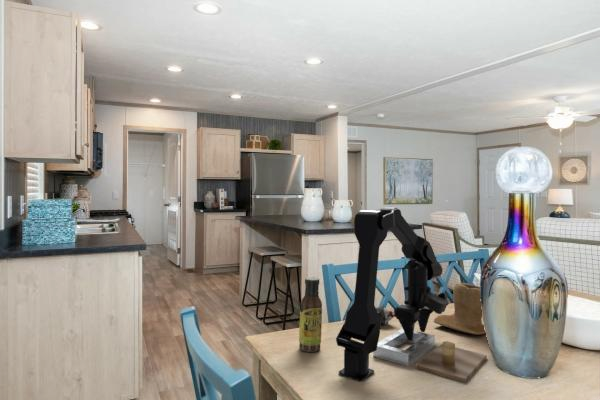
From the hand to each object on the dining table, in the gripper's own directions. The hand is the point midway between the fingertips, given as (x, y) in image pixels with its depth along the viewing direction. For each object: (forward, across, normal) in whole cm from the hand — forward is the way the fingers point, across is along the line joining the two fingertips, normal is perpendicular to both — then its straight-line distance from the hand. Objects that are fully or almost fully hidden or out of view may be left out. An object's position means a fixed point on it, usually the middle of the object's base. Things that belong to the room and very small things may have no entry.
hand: (416, 336), depth 118 cm
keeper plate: (+2, -8, -13) cm, 15 cm away
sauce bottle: (+2, -24, +21) cm, 32 cm away
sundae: (0, +3, +24) cm, 24 cm away
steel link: (+2, -8, 0) cm, 8 cm away
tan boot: (+2, +21, -7) cm, 22 cm away
